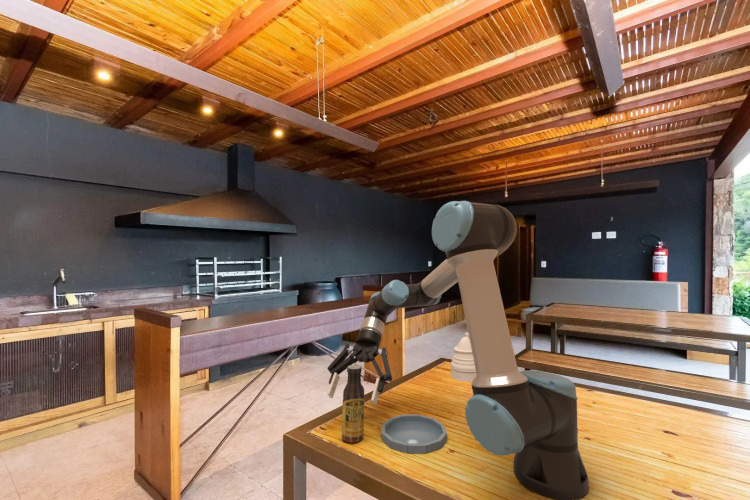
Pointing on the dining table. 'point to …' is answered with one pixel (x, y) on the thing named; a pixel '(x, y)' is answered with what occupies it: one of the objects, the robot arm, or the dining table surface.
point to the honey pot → (463, 361)
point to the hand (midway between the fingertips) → (351, 399)
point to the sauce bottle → (353, 406)
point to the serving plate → (414, 434)
